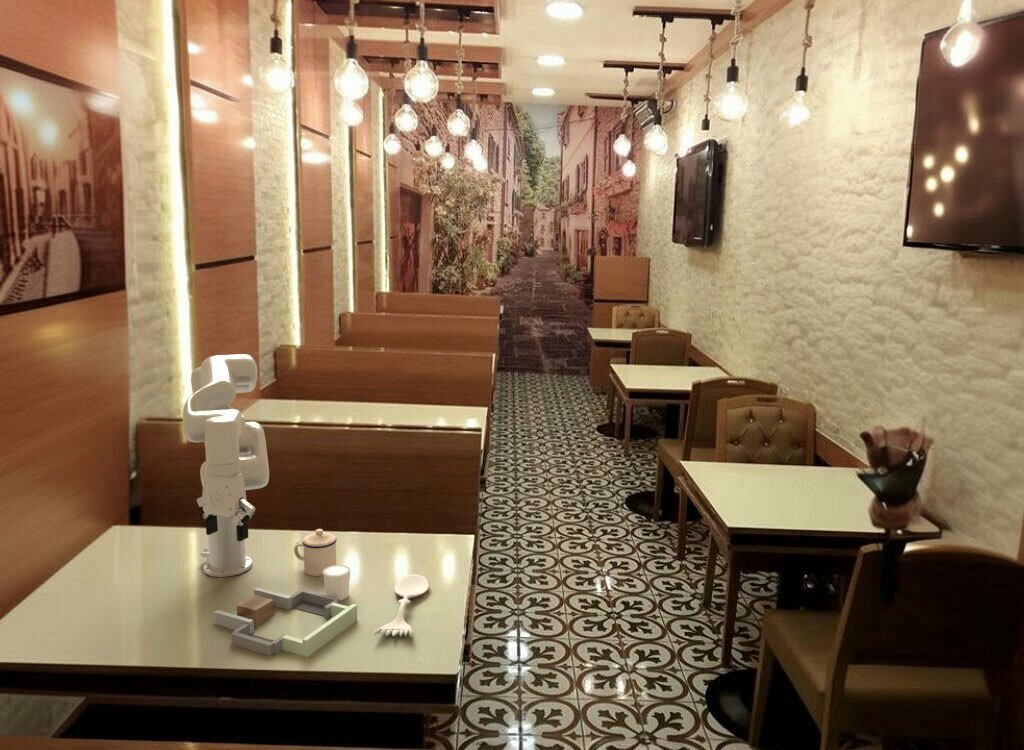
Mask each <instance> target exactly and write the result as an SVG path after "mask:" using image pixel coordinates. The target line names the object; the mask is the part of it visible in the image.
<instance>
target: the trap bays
mask: <svg viewBox="0 0 1024 750" xmlns="http://www.w3.org/2000/svg"><path fill="white" fill-rule="evenodd" d="M290 596H292V608H291V609H294V610H295V609H296V610H300V611H302V612H307V613H310V614H314V615H318V616H322V617H324V618H330V617H332V616H331V612H330V604H332V603H337V604H340V601H341V600H340V599H339V598H336V597H332V596H328V595H326V594H325V593H324V594H323V593H320V592H317V591H311V590H307V589H302V590H298V591H295V592H294V593H293V594H290ZM285 635H286V634H285V633H283V634H282V635H280V636H279V637H277V638H276V639H274V640H273V639H270V638H266V637H262V636H260V635H256V634H254V633H251V634H250V624H247V623H245V624H244V625H242V626H240V627H239V628H237V629H235V630H234V629H233V630H232V633H231V634H230V638H231V639H230V640H231V645H232V646H236V647H238V648H239V647H240V648H243V649H246V650H249V651H253V652H255V653H259V654H263V655H265V656H269V657H270V656H271V657H272V655H274V654H275V655H277V654H279V653H280V652H282V651H283V650H282V637H283V636H285Z"/></svg>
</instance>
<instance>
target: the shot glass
mask: <svg viewBox="0 0 1024 750" xmlns="http://www.w3.org/2000/svg"><path fill="white" fill-rule="evenodd" d="M322 577H323V583H324V589H325V595H328V596H332V597H336V598H339V599H340V601H343V600H346V599H347V598H348V597H349V595H350V593H349V592H350V580H351V579H350V578H351V568H350V567H349V566H347V565H343V564H336V565H333V566H330V567H327V568H325V569H324V570H323V576H322Z"/></svg>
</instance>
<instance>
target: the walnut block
mask: <svg viewBox="0 0 1024 750" xmlns="http://www.w3.org/2000/svg"><path fill="white" fill-rule="evenodd" d="M235 607H236V615H238V616H241V617H245V618H248V619H252V620H253V624H254V626H258V625H260V624H261V623H263V622H264V621H266V620H268V619H269V618H270V617H272V616H274V615H275V608H274V607H275V606H274V601H273V600H272V599H268V598H265V597H261V596H257V595H254V594H253V595H251V596H250V597H248V598H246V599H245V600H242V601H241V602H240V603H239V602H238V604H236V606H235Z"/></svg>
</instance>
